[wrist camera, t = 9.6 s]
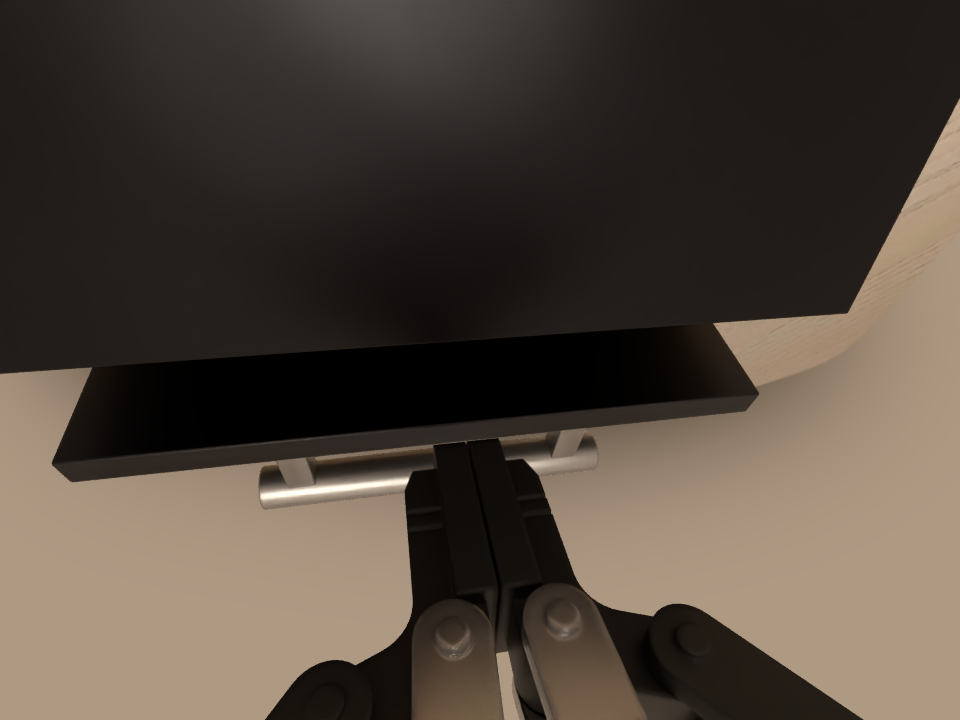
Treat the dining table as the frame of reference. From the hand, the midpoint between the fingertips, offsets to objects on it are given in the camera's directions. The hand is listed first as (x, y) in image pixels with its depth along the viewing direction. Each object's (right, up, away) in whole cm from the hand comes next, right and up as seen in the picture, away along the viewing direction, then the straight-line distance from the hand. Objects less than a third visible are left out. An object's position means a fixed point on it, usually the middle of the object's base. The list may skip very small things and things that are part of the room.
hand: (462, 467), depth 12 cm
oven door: (-3, +7, +13) cm, 15 cm away
